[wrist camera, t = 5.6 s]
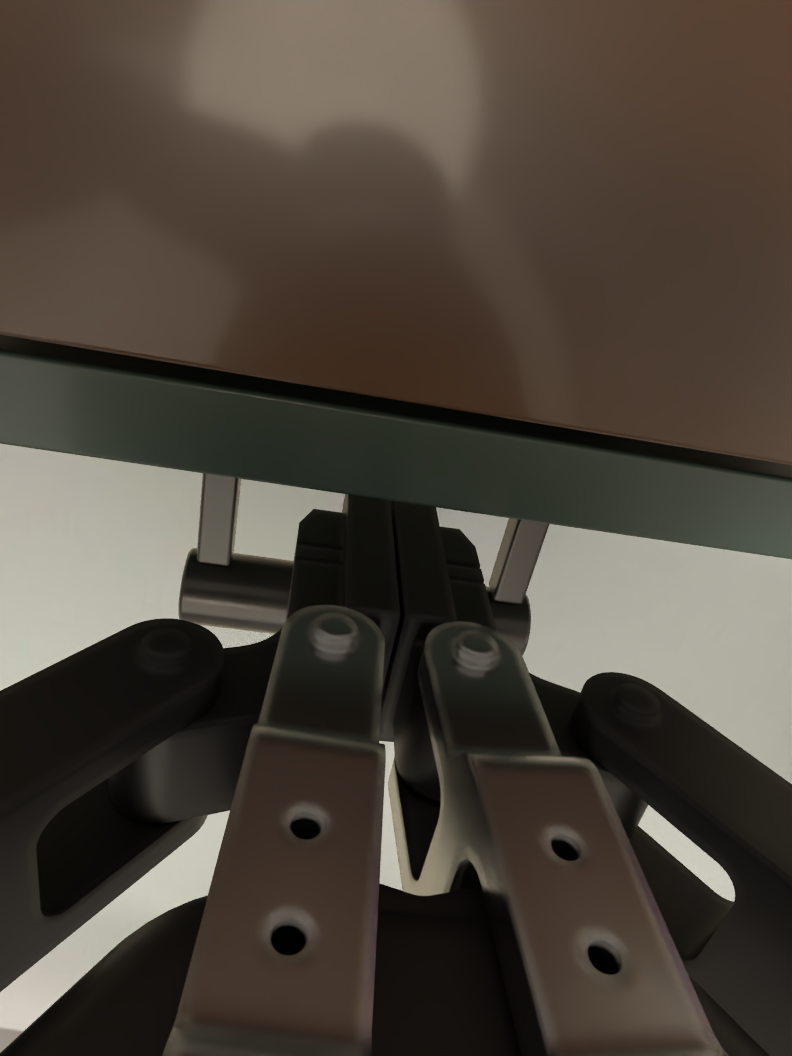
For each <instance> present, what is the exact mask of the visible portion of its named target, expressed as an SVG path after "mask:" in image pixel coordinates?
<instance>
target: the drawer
mask: <svg viewBox="0 0 792 1056" xmlns="http://www.w3.org/2000/svg"><path fill="white" fill-rule="evenodd" d="M0 443H1V444H8V445H15V446H21V447H28V448H35V449H42V450H49V451H56V452H62V453H69V454H76V455H83V456H90V457H97V458H104V459H110V460H117V461H124V462H131V463H138V464H145V465H151V466H158V467H165V468H172V469H179V470H186V471H192V472H199V473H203V479H202V493H201V506H200V520H199V534H198V547H197V548H193V549H191V550H190V552H189V554H188V556H187V559H186V563H185V567H184V571H183V576H182V582H181V588H180V597H179V619H180V620H185V621H189V622H192V623H195V624H198V625H205V626H214V627H222V628H231V629H239V630H248V631H256V632H264V633H273V634H276V633H277V632H278V631H279V630H280V629H281V628H282V627H283V625H284V623H285V621H286V615H287V607H288V599H289V591H290V585H291V578H292V571H293V564H294V561H289V560H281V559H274V558H266V557H259V556H251V555H244V554H236V553H233V551H234V544H235V534H236V524H237V514H238V505H239V495H240V485H241V479H247V480H254V481H261V482H268V483H275V484H281V485H288V486H295V487H302V488H309V489H316V490H322V491H329V492H336V493H343V494H350V495H357V496H363V497H370V498H377V499H384V500H391V501H398V502H404V503H411V504H418V505H425V506H432V507H439V508H446V509H452V510H459V511H466V512H473V513H480V514H487V515H493V516H500V517H507V518H509V520H508V523H507V527H506V530H505V533H504V536H503V540H502V543H501V546H500V549H499V553H498V556H497V559H496V562H495V566H494V569H493V572H492V575H491V579H490V582H489V586H490V587H486V590H487V594H488V598H489V602H490V606H491V610H492V614H493V617H494V621H495V625H496V629H497V631H498V632H499V633H501V634H503V635H504V636H505V637H507V638H508V639H509V640H511V641H512V642H513V643H514V644H515V645H516V647H517V648H518V649H519V651H520V653H521V655H522V656H523V654H524V652H525V649H526V646H527V643H528V639H529V634H530V625H531V611H530V604H529V600H528V597H527V595H526V591H527V588H528V585H529V582H530V579H531V576H532V573H533V570H534V567H535V565H536V562H537V559H538V556H539V553H540V550H541V547H542V544H543V541H544V538H545V535H546V532H547V529H548V526H549V524H555V525H562V526H569V527H575V528H582V529H589V530H596V531H603V532H610V533H617V534H623V535H630V536H637V537H644V538H651V539H658V540H664V541H671V542H678V543H685V544H692V545H699V546H705V547H712V548H719V549H726V550H733V551H740V552H746V553H753V554H760V555H767V556H774V557H781V558H788V559H792V465H787V464H781V463H775V462H769V461H763V460H757V459H750V458H744V457H738V456H732V455H726V454H720V453H714V452H708V451H702V450H696V449H690V448H684V447H678V446H672V445H666V444H660V443H654V442H648V441H642V440H636V439H630V438H623V437H617V436H611V435H605V434H599V433H593V432H587V431H581V430H575V429H569V428H563V427H557V426H551V425H545V424H539V423H533V422H527V421H521V420H515V419H509V418H503V417H496V416H490V415H484V414H478V413H472V412H466V411H460V410H454V409H448V408H442V407H436V406H430V405H424V404H418V403H412V402H406V401H400V400H394V399H388V398H382V397H375V396H369V395H363V394H357V393H351V392H345V391H339V390H333V389H327V388H321V387H315V386H309V385H303V384H297V383H291V382H285V381H279V380H273V379H267V378H261V377H255V376H248V375H242V374H236V373H230V372H224V371H218V370H212V369H206V368H200V367H194V366H188V365H182V364H176V363H170V362H164V361H158V360H152V359H146V358H140V357H134V356H128V355H121V354H115V353H109V352H103V351H97V350H91V349H85V348H79V347H73V346H67V345H61V344H55V343H49V342H43V341H37V340H31V339H25V338H19V337H13V336H7V335H1V334H0Z"/></svg>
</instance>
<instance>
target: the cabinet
mask: <svg viewBox="0 0 792 1056" xmlns="http://www.w3.org/2000/svg"><path fill="white" fill-rule="evenodd" d="M0 334H1V335H7V336H13V337H19V338H25V339H31V340H37V341H43V342H49V343H55V344H61V345H67V346H73V347H79V348H85V349H91V350H97V351H103V352H109V353H115V354H121V355H128V356H134V357H140V358H146V359H152V360H158V361H164V362H170V363H176V364H182V365H188V366H194V367H200V368H206V369H212V370H218V371H224V372H230V373H236V374H242V375H248V376H255V377H261V378H267V379H273V380H279V381H285V382H291V383H297V384H303V385H309V386H315V387H321V388H327V389H333V390H339V391H345V392H351V393H357V394H363V395H369V396H375V397H382V398H388V399H394V400H400V401H406V402H412V403H418V404H424V405H430V406H436V407H442V408H448V409H454V410H460V411H466V412H472V413H478V414H484V415H490V416H496V417H503V418H509V419H515V420H521V421H527V422H533V423H539V424H545V425H551V426H557V427H563V428H569V429H575V430H581V431H587V432H593V433H599V434H605V435H611V436H617V437H623V438H630V439H636V440H642V441H648V442H654V443H660V444H666V445H672V446H678V447H684V448H690V449H696V450H702V451H708V452H714V453H720V454H726V455H732V456H738V457H744V458H750V459H757V460H763V461H769V462H775V463H781V464H787V465H792V0H0Z"/></svg>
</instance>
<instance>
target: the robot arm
mask: <svg viewBox="0 0 792 1056" xmlns="http://www.w3.org/2000/svg"><path fill="white" fill-rule="evenodd" d="M483 583H484V579H483V575H482V571H481V569H480V563H479V559H478V555H477V552H476V548H475V546H474V545H473V544H472V543H471V542H470V541H469V539H468V538H467V537H466V536H465V535H464V534H463V533H462V532H461V531H460V529H453V528H446V527H439V521H438V516H437V511H436V507H432V506H425V505H418V504H411V503H404V502H398V501H391V500H384V499H377V498H370V497H363V496H357V495H350V494H345V498H344V504H343V509H342V513H339V512H332V511H325V510H317V509H313V510H312V511H311V512H310V513H309V514H308V515H307V516H306V517H305V518H304V519H303V520H302V521H301V522H300V523H299V530H298V537H297V543H296V550H295V557H294V564H293V571H292V578H291V585H290V591H289V599H288V607H287V615H286V621H285V623H284V625H283V627H282V628H281V629H280V630H279V631H278V632H277V633H276V634H274V635H273V636H271V637H269V638H268V639H266V640H263V641H261V642H258V643H255V644H251V645H246V646H240V647H231V648H223V647H222V645H221V643H220V641H219V639H218V638H217V637H216V636H215V635H214V634H213V633H212V632H210V631H209V630H208V629H206V628H204V627H202V626H200V625H198V624H195V623H192V622H189V621H185V620H179V619H154V620H148V621H144V622H140V623H137V624H135V625H132V626H130V627H128V628H126V629H124V630H122V631H120V632H118V633H116V634H114V635H112V636H110V637H108V638H106V639H104V640H102V641H100V642H98V643H96V644H94V645H92V646H90V647H88V648H86V649H84V650H82V651H80V652H78V653H76V654H74V655H72V656H70V657H67V658H65V659H63V660H61V661H59V662H57V663H55V664H53V665H51V666H49V667H47V668H45V669H43V670H41V671H39V672H37V673H35V674H33V675H31V676H29V677H27V678H25V679H23V680H21V681H19V682H17V683H15V684H13V685H11V686H9V687H7V688H5V689H3V690H1V691H0V992H1V991H2V990H3V989H4V988H6V987H7V986H8V985H9V984H11V983H12V982H13V981H14V980H16V979H17V978H18V977H19V976H20V975H22V974H23V973H24V972H25V971H27V970H28V969H29V968H30V967H32V966H33V965H34V964H35V963H36V962H38V961H39V960H40V959H41V958H43V957H44V956H45V955H46V954H48V953H49V952H50V951H51V950H52V949H54V948H55V947H56V946H57V945H59V944H60V943H61V942H62V941H64V940H65V939H66V938H67V937H68V936H70V935H71V934H72V933H73V932H75V931H76V930H77V929H78V928H80V927H81V926H82V925H83V924H85V923H86V922H87V921H88V920H89V919H91V918H92V917H93V916H94V915H96V914H97V913H98V912H99V911H101V910H102V909H103V908H104V907H105V906H107V905H108V904H109V903H110V902H112V901H113V900H114V899H115V898H117V897H118V896H119V895H120V894H121V893H123V892H124V891H125V890H126V889H128V888H129V887H130V886H131V885H133V884H134V883H135V882H136V881H137V880H139V879H140V878H141V877H142V876H144V875H145V874H146V873H147V872H149V871H150V870H151V869H152V868H154V867H155V866H156V865H157V864H158V863H160V862H161V861H162V860H163V859H165V858H166V857H167V856H168V855H170V854H171V853H172V852H173V851H174V850H176V849H177V848H178V847H179V846H181V845H182V844H183V843H184V842H186V841H187V840H188V839H189V838H190V837H192V836H193V835H194V834H195V833H196V832H197V831H198V830H199V829H200V828H201V826H202V825H203V824H204V822H205V820H206V818H207V815H209V814H214V813H219V812H224V811H229V810H230V814H229V817H228V821H227V825H226V829H225V833H224V837H223V840H222V844H221V848H220V852H219V856H218V859H217V863H216V867H215V871H214V875H213V878H212V882H211V886H210V890H209V894H208V896H205V897H202V898H198V899H195V900H192V901H190V902H187V903H185V904H183V905H180V906H178V907H176V908H174V909H171V910H169V911H167V912H165V913H164V914H162V915H160V916H158V917H157V918H155V919H153V920H151V921H149V922H148V923H146V924H145V925H143V926H142V927H140V928H139V929H138V930H136V931H135V932H134V933H132V934H131V935H129V936H128V937H127V938H125V939H124V940H123V941H122V942H120V943H119V944H118V945H117V946H116V947H115V948H114V949H112V950H111V951H110V952H109V953H108V954H107V955H106V956H105V957H104V958H103V959H102V960H100V961H99V962H98V963H97V964H96V965H95V966H94V967H93V968H92V969H91V970H90V971H89V972H87V973H86V974H85V975H84V976H83V977H82V978H81V979H80V980H79V981H78V982H77V983H76V984H74V985H73V986H72V987H71V988H70V989H69V990H68V991H67V992H66V993H65V994H64V995H63V996H62V997H60V998H59V999H58V1000H57V1001H56V1002H55V1003H54V1004H53V1005H52V1006H51V1007H50V1008H49V1009H47V1010H46V1011H45V1012H44V1013H43V1014H42V1015H41V1016H40V1017H39V1018H38V1019H37V1020H36V1021H34V1022H33V1023H32V1024H31V1025H30V1026H29V1027H28V1028H27V1029H26V1030H25V1031H24V1032H23V1033H22V1034H20V1035H19V1036H18V1037H17V1038H16V1039H15V1040H14V1041H13V1042H12V1043H11V1044H10V1045H9V1046H7V1047H6V1048H5V1049H4V1050H3V1051H2V1052H1V1053H0V1056H792V784H790V783H789V782H788V781H786V780H785V779H783V778H782V777H781V776H779V775H778V774H776V773H775V772H774V771H772V770H771V769H770V768H768V767H767V766H765V765H764V764H763V763H761V762H760V761H758V760H757V759H756V758H754V757H753V756H752V755H750V754H749V753H747V752H746V751H745V750H743V749H742V748H740V747H739V746H738V745H736V744H735V743H734V742H732V741H731V740H729V739H728V738H727V737H725V736H724V735H722V734H721V733H720V732H718V731H717V730H716V729H714V728H713V727H711V726H710V725H709V724H707V723H706V722H704V721H703V720H702V719H700V718H699V717H698V716H696V715H695V714H693V713H692V712H691V711H689V710H688V709H686V708H685V707H684V706H682V705H681V704H680V703H678V702H677V701H675V700H674V699H673V698H671V697H670V696H668V695H667V694H666V693H664V692H663V691H662V690H660V689H659V688H657V687H655V686H654V685H652V684H650V683H648V682H646V681H644V680H642V679H640V678H637V677H634V676H631V675H627V674H622V673H614V672H609V673H601V674H597V675H594V676H592V677H591V678H589V679H588V680H587V681H586V683H585V684H584V686H583V689H582V691H581V693H580V692H577V691H574V690H571V689H568V688H565V687H562V686H559V685H557V684H554V683H551V682H548V681H546V680H543V679H541V678H538V677H536V676H534V675H532V674H531V673H529V672H528V669H527V667H526V664H525V662H524V659H523V657H522V655H521V653H520V651H519V649H518V648H517V647H516V645H515V644H514V643H513V642H512V641H511V640H509V639H508V638H507V637H505V636H504V635H503V634H501V633H499V632H498V631H497V629H496V625H495V621H494V617H493V614H492V610H491V606H490V602H489V598H488V594H487V590H486V586H485V584H483ZM379 741H389V742H394V748H395V757H394V761H393V765H392V769H391V772H390V776H389V781H388V789H389V796H390V804H391V811H392V818H393V825H394V832H395V840H396V847H397V854H398V861H399V869H400V876H401V883H402V890H403V891H401V890H398V889H395V888H391V887H388V886H385V885H382V884H379V878H380V858H381V838H382V818H383V798H384V778H385V756H386V754H385V745H384V744H380V743H379ZM648 805H650V806H651V807H652V808H653V809H654V810H655V811H657V812H658V813H659V814H660V815H661V816H663V817H664V818H665V819H666V820H667V821H669V822H670V823H671V824H672V825H673V826H675V827H676V828H677V829H678V830H679V831H681V832H682V833H683V834H684V835H685V836H687V837H688V838H689V839H690V840H691V841H693V842H694V843H695V844H696V845H697V846H698V847H700V848H701V849H702V850H703V851H704V852H706V853H707V854H708V855H709V856H710V857H712V858H713V859H714V860H715V861H716V862H718V863H719V864H720V865H721V866H722V867H723V869H724V870H725V871H726V872H727V874H728V875H729V877H730V879H731V881H732V883H733V886H734V889H735V902H732V901H729V900H726V899H724V898H722V897H721V896H719V895H718V894H716V893H715V892H714V891H713V890H712V889H711V888H709V887H708V886H707V885H706V884H705V883H704V882H702V881H701V880H700V879H699V878H698V877H697V876H695V875H694V874H693V873H692V872H691V871H690V870H689V869H687V868H686V867H685V866H684V865H683V864H682V863H680V862H679V861H678V860H677V859H676V858H675V857H674V856H672V855H671V854H670V853H669V852H668V851H667V850H665V849H664V848H663V847H662V846H661V845H660V844H658V843H657V842H656V841H655V840H654V839H653V838H652V837H650V836H649V835H648V834H647V833H646V832H645V831H643V830H642V829H641V828H640V827H639V826H638V823H639V821H640V819H641V818H642V816H643V814H644V812H645V810H646V808H647V806H648Z"/></svg>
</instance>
